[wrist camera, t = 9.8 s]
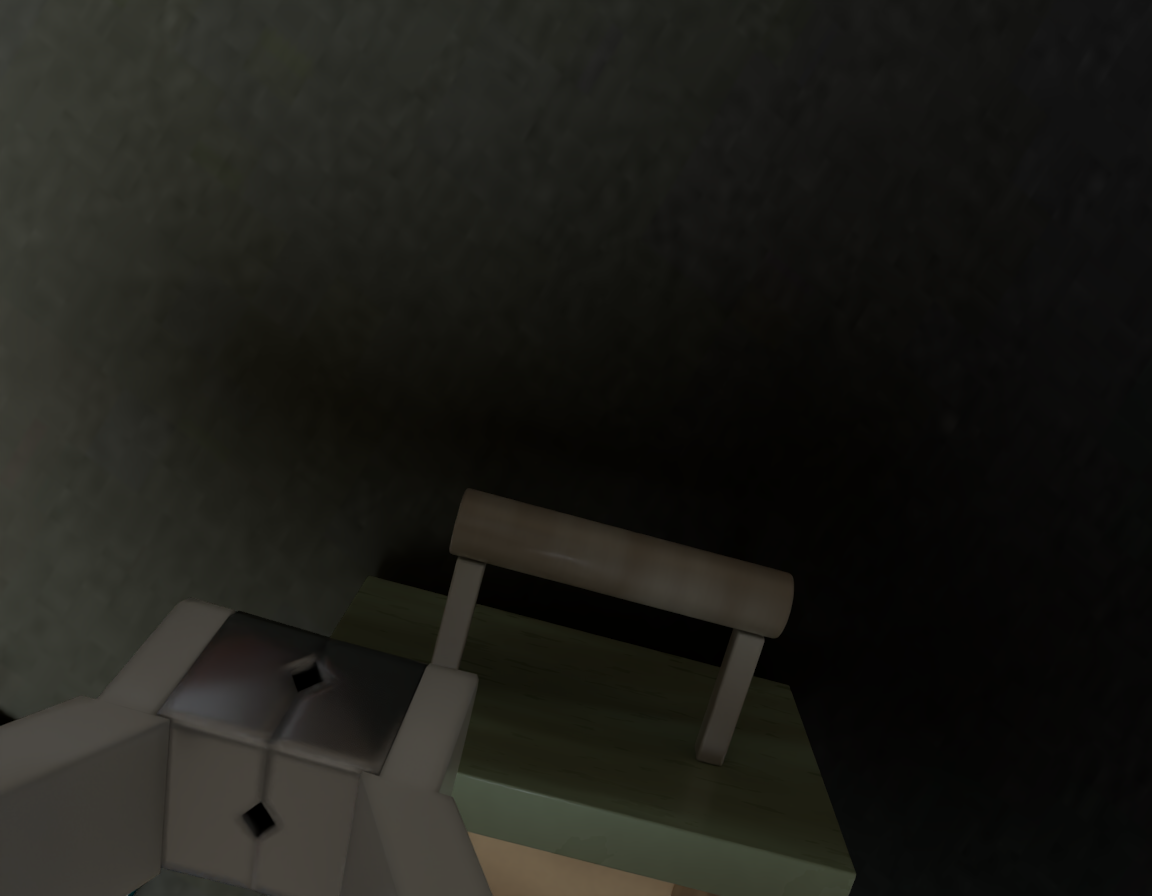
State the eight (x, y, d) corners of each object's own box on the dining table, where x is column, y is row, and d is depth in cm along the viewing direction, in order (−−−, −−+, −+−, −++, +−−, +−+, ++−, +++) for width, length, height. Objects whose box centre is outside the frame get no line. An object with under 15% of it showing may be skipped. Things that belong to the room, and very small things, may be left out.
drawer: (406, 410, 26) (321, 504, 18) (844, 527, 26) (938, 666, 19) (270, 994, 30) (158, 1262, 23) (648, 1087, 31) (660, 1382, 23)
